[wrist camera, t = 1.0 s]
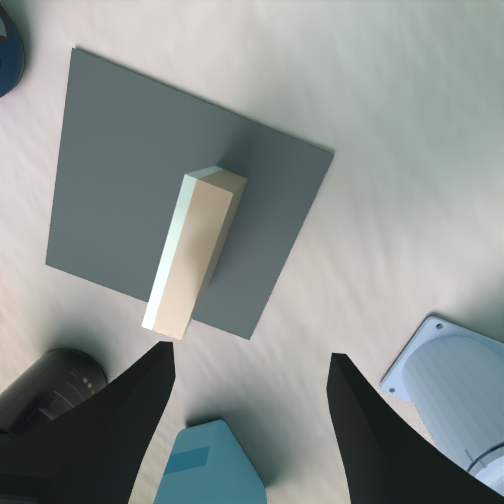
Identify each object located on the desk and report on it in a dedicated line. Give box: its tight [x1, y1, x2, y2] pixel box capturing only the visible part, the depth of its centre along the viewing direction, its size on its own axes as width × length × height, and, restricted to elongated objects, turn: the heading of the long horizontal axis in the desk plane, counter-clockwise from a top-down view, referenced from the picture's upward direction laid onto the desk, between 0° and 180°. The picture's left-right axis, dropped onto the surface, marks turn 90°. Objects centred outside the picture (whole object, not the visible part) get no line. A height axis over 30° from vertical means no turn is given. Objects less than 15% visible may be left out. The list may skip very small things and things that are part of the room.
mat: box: [45, 48, 334, 340], centre depth 21 cm, size 18×16×1 cm
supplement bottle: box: [0, 349, 106, 445], centre depth 22 cm, size 7×7×12 cm
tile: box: [142, 166, 248, 341], centre depth 18 cm, size 2×9×7 cm, turn 159°
